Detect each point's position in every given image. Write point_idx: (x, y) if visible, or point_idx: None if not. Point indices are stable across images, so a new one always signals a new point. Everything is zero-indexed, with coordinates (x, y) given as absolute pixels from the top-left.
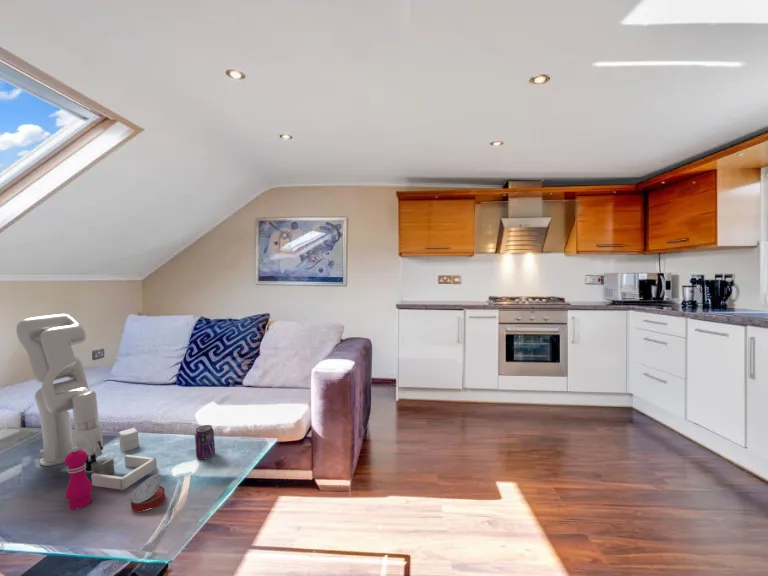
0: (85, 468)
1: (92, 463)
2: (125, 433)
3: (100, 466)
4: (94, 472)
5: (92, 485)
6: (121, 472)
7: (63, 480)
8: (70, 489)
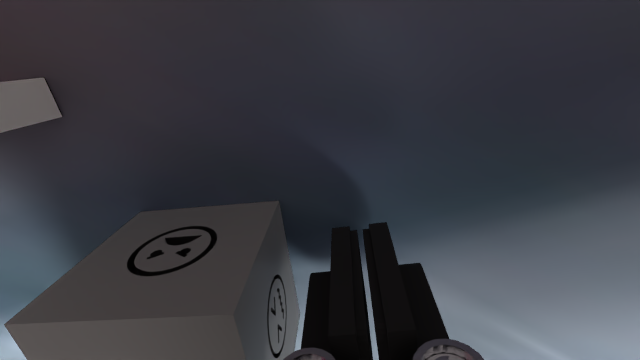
0: (390, 242)
1: (220, 329)
2: None
3: (30, 309)
4: (219, 231)
5: (41, 78)
6: None
7: (552, 4)
8: None
